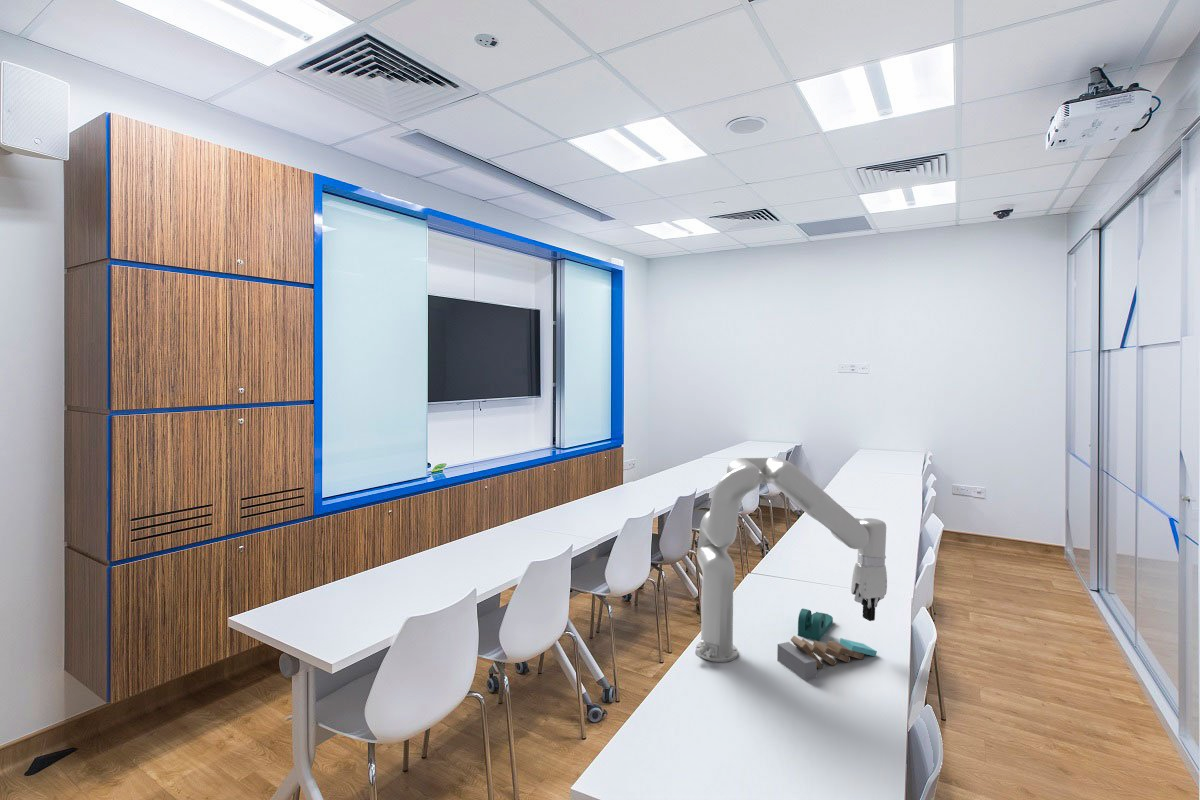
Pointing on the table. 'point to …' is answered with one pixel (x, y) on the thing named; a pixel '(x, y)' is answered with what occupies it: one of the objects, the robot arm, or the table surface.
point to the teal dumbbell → (813, 624)
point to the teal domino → (858, 647)
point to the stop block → (797, 661)
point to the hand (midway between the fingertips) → (868, 618)
